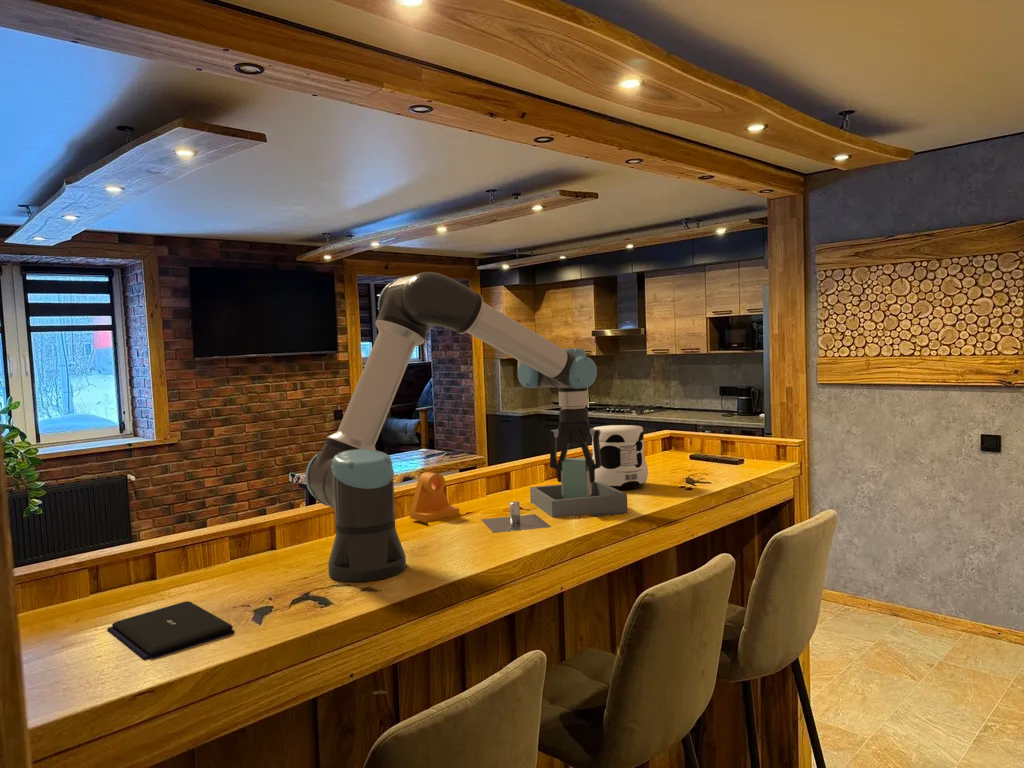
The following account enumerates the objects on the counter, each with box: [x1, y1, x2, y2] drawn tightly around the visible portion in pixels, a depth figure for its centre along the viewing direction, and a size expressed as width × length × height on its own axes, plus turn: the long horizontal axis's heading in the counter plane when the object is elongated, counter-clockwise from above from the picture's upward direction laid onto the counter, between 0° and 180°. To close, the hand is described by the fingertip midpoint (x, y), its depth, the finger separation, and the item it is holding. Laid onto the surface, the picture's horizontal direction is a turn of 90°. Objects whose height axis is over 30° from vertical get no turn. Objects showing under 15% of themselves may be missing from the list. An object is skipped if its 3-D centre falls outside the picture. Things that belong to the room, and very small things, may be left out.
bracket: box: [409, 471, 460, 523], centre depth 183 cm, size 11×7×12 cm, turn 130°
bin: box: [529, 481, 629, 518], centre depth 188 cm, size 20×20×5 cm
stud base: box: [480, 500, 552, 534], centre depth 172 cm, size 14×14×6 cm
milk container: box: [591, 424, 649, 490], centre depth 217 cm, size 17×17×18 cm
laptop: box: [106, 600, 236, 661], centre depth 114 cm, size 16×20×2 cm
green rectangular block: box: [562, 457, 589, 499], centre depth 188 cm, size 6×6×10 cm
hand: (576, 494), depth 188 cm, fingers closed on green rectangular block, 6 cm apart
